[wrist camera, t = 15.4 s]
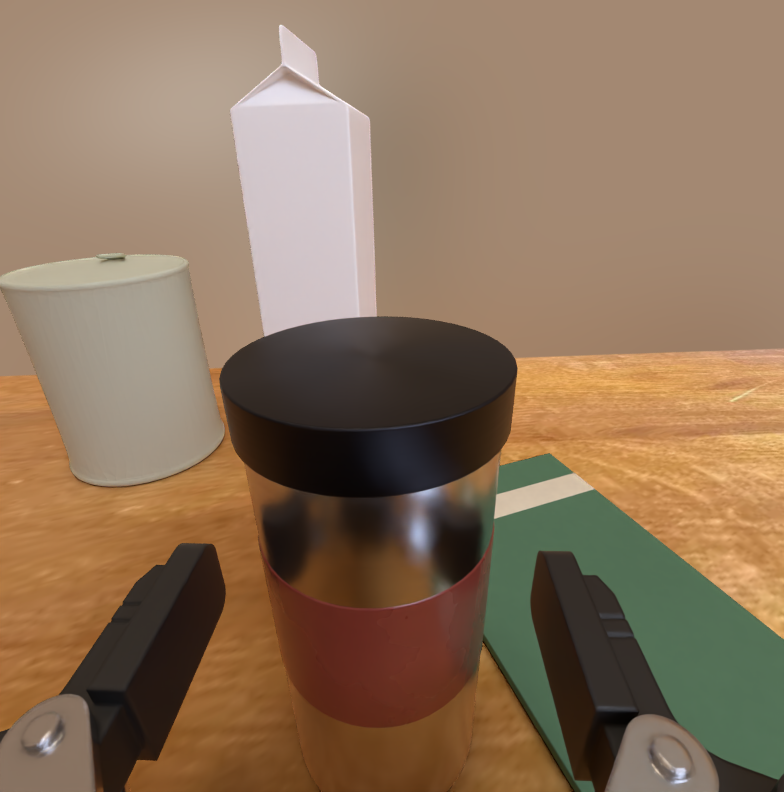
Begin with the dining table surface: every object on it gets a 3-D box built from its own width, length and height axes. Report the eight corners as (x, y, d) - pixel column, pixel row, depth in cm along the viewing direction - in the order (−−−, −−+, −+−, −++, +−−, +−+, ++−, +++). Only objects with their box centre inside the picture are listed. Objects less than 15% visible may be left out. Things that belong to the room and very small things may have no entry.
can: (226, 403, 35) (193, 242, 30) (224, 469, 27) (179, 266, 22) (92, 423, 33) (31, 252, 27) (48, 502, 25) (-50, 282, 20)
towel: (817, 1194, 8) (827, 1191, 8) (396, 497, 25) (396, 491, 24) (1086, 895, 11) (1097, 887, 11) (548, 458, 28) (549, 452, 27)
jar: (433, 883, 11) (452, 469, 6) (254, 757, 14) (148, 385, 8) (499, 673, 16) (545, 333, 10) (356, 608, 18) (332, 306, 13)
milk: (278, 440, 30) (211, 26, 20) (305, 399, 36) (262, 56, 26) (368, 445, 30) (342, 16, 20) (382, 402, 35) (367, 49, 25)
